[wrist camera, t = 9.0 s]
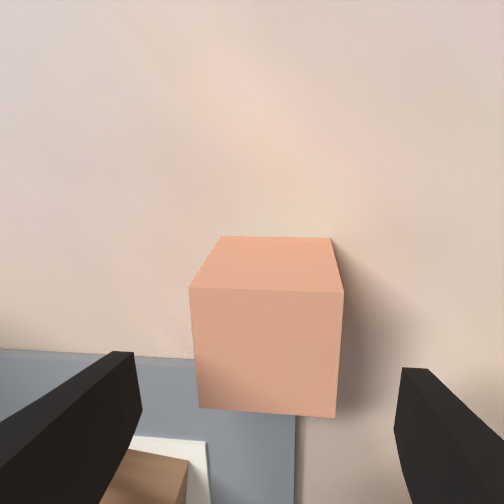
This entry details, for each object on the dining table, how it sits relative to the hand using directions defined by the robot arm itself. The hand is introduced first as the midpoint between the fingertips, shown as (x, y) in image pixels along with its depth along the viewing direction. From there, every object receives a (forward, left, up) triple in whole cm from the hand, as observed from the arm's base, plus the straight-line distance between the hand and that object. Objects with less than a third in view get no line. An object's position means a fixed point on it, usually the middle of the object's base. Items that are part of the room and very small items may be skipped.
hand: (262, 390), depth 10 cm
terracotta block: (0, 0, -7) cm, 7 cm away
